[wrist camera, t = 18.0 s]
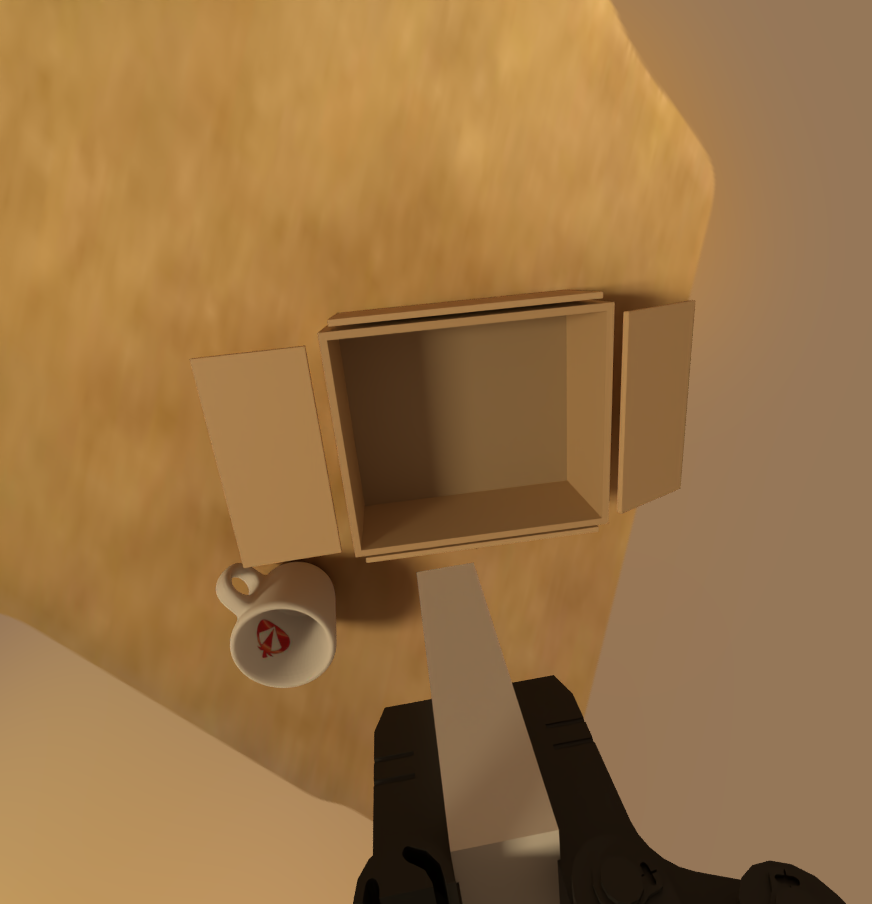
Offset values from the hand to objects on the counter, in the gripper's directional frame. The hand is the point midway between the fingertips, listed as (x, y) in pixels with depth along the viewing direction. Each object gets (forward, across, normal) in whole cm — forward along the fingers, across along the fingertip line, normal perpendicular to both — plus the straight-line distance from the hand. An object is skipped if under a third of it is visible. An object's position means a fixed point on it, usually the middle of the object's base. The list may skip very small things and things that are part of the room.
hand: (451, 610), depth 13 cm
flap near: (+21, -6, -2) cm, 22 cm away
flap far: (+21, +14, -3) cm, 26 cm away
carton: (+29, +4, -3) cm, 29 cm away
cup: (+29, -13, -16) cm, 36 cm away
